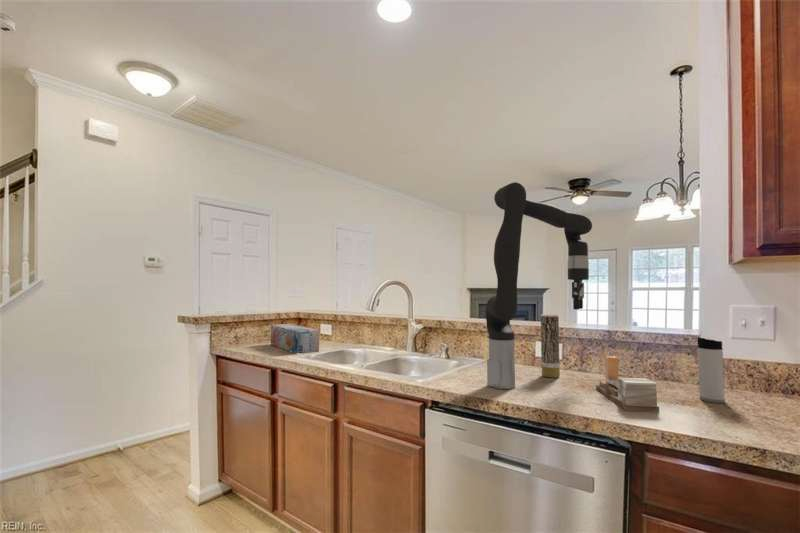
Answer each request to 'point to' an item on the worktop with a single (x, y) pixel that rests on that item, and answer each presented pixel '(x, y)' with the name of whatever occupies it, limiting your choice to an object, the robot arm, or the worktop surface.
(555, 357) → the bark textured post
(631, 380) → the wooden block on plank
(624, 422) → the worktop surface
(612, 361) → the orange flat block
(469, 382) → the worktop surface
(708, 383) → the travel mug
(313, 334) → the soda box
